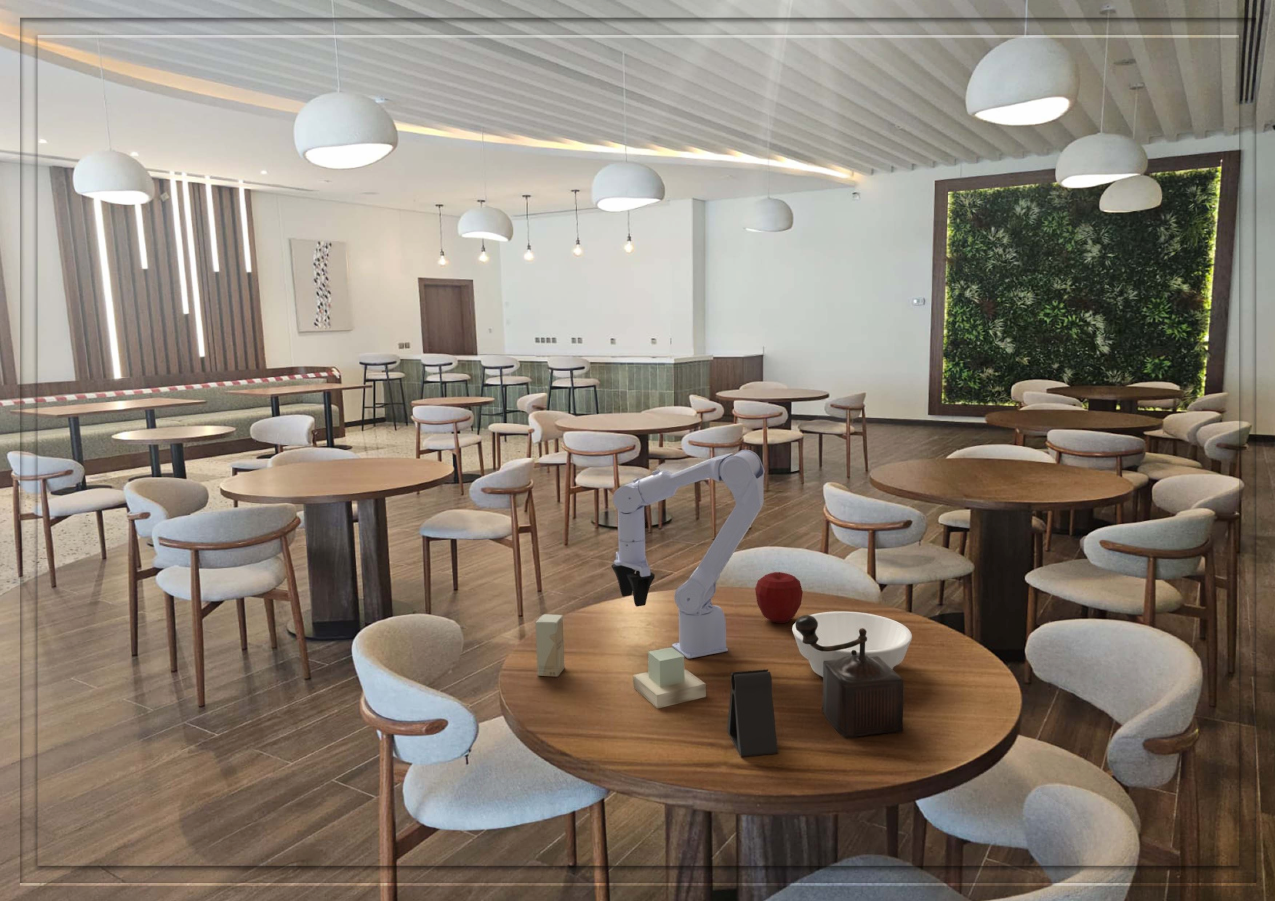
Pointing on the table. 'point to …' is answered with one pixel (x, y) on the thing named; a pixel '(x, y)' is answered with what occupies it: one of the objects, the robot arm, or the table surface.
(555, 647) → the box
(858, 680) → the manual coffee grinder
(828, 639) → the bowl
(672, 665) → the sage cube
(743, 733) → the phone stand
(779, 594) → the apple
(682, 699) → the birch block
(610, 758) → the table surface
